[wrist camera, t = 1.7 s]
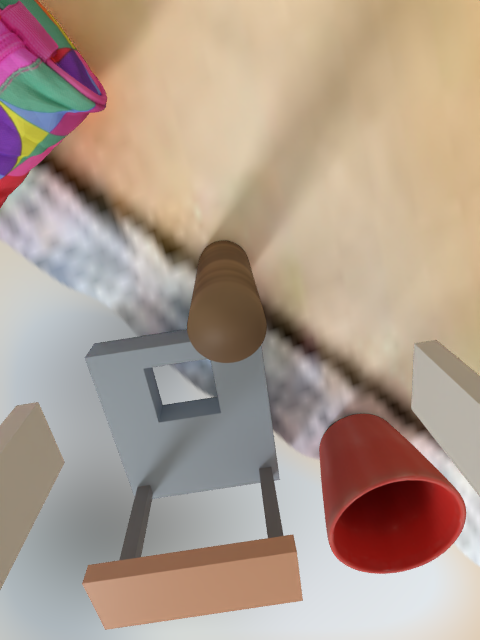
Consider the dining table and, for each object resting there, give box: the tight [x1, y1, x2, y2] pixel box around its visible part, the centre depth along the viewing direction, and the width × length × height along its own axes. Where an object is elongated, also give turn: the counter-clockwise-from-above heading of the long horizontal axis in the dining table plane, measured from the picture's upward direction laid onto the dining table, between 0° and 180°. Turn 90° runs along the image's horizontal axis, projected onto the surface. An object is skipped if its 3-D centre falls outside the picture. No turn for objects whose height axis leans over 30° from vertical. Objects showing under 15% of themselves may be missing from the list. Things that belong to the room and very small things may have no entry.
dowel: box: [187, 241, 267, 363], centre depth 24 cm, size 4×4×12 cm
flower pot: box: [319, 414, 466, 574], centre depth 33 cm, size 11×11×10 cm
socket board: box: [82, 329, 303, 630], centre depth 29 cm, size 16×14×13 cm
